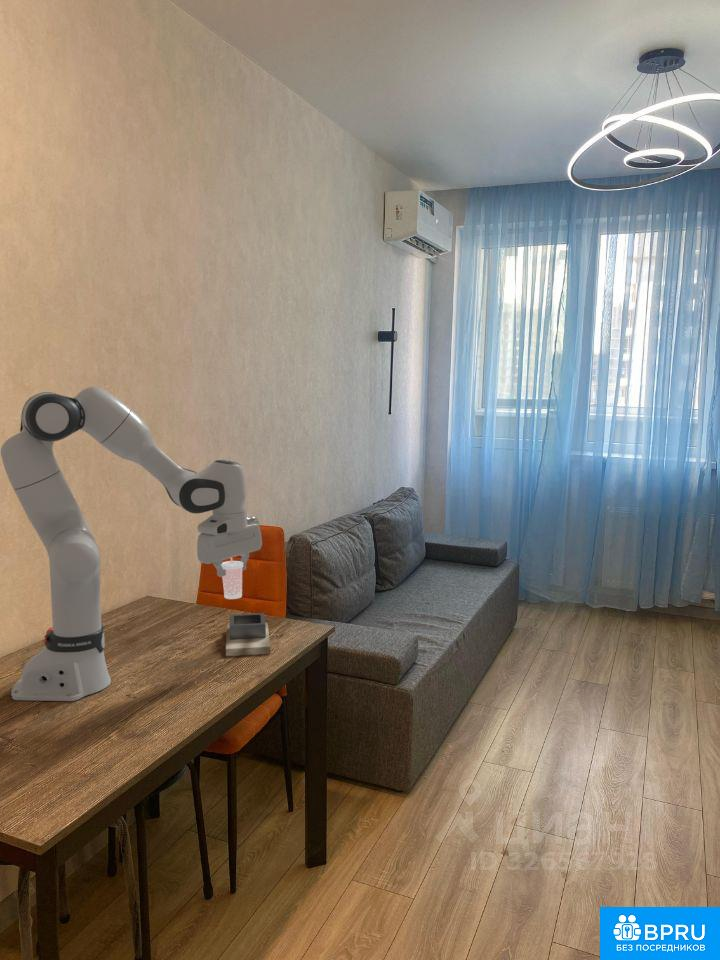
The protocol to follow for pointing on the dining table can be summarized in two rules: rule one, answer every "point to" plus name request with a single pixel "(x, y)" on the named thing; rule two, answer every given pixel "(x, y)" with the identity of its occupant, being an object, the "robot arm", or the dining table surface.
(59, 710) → the dining table surface
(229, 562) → the beverage cup
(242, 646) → the socket board
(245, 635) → the cup collar
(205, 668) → the dining table surface
